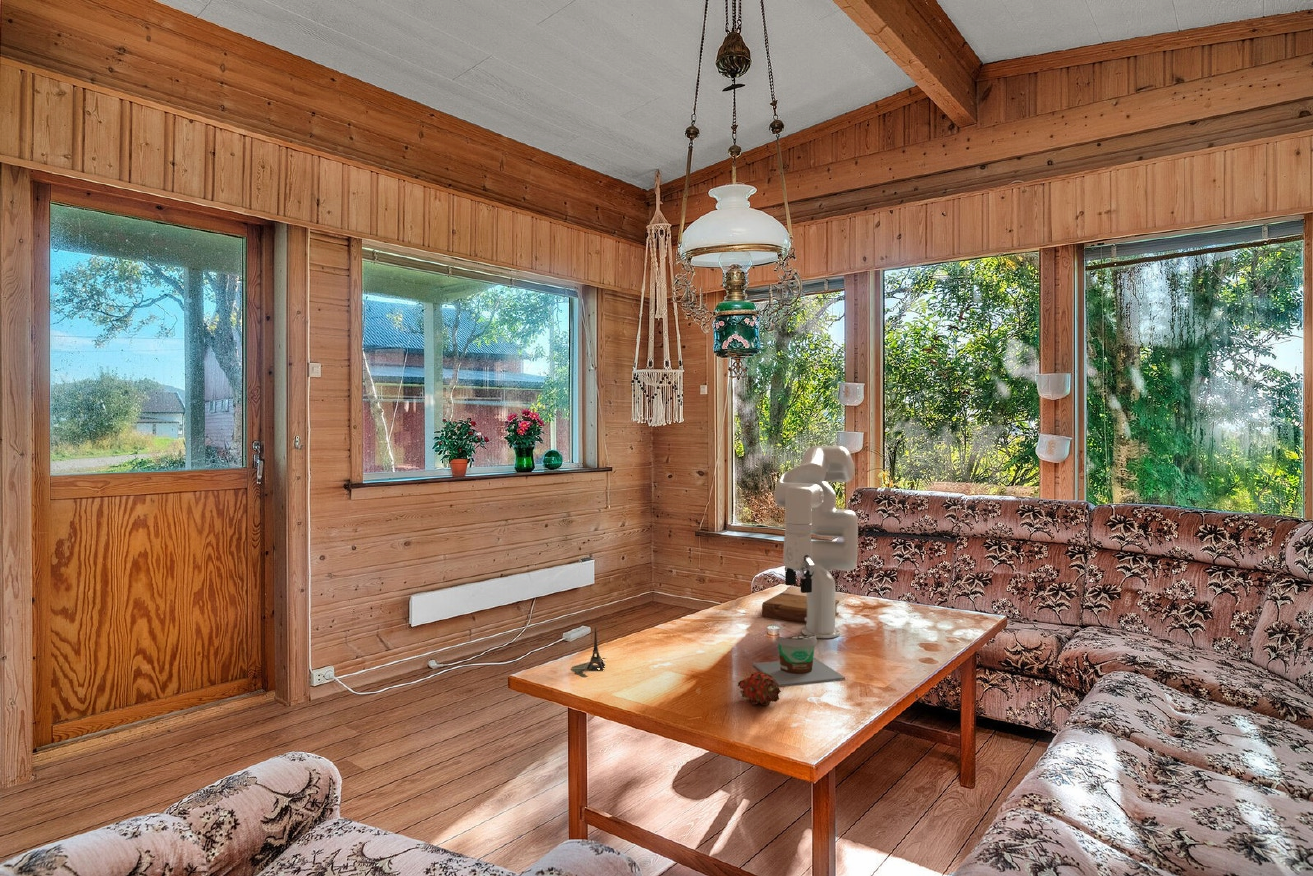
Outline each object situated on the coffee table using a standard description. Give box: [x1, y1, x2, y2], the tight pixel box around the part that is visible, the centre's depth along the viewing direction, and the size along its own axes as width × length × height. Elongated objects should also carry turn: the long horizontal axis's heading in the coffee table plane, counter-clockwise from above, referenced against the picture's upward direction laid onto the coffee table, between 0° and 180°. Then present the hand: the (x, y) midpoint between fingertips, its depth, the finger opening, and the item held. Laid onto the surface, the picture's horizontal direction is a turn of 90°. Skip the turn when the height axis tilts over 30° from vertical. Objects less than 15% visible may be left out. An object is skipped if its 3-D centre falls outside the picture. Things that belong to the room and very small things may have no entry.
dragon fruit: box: [737, 671, 782, 706], centre depth 188 cm, size 8×8×12 cm
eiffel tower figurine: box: [570, 626, 607, 678], centre depth 215 cm, size 15×10×13 cm
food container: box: [775, 633, 818, 674], centre depth 210 cm, size 12×6×10 cm, turn 106°
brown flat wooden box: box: [761, 592, 840, 624], centre depth 273 cm, size 23×19×6 cm
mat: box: [752, 657, 846, 688], centre depth 211 cm, size 18×20×1 cm
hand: (798, 588), depth 210 cm, fingers open, 9 cm apart
